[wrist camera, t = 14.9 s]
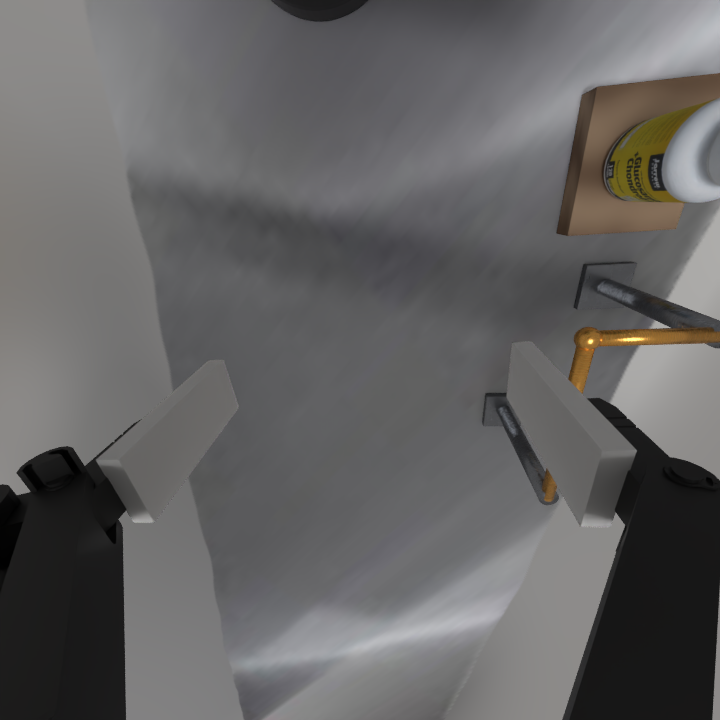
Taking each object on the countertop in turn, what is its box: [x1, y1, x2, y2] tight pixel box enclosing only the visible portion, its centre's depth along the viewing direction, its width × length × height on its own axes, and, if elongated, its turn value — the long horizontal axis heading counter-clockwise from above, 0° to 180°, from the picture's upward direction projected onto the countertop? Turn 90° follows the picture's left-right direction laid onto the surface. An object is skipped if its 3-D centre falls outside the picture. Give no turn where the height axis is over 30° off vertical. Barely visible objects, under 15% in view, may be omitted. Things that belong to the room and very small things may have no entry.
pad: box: [557, 73, 720, 236], centre depth 31 cm, size 12×10×2 cm
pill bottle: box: [604, 98, 720, 203], centre depth 25 cm, size 6×6×12 cm
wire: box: [482, 262, 720, 505], centre depth 34 cm, size 22×14×16 cm, turn 4°
